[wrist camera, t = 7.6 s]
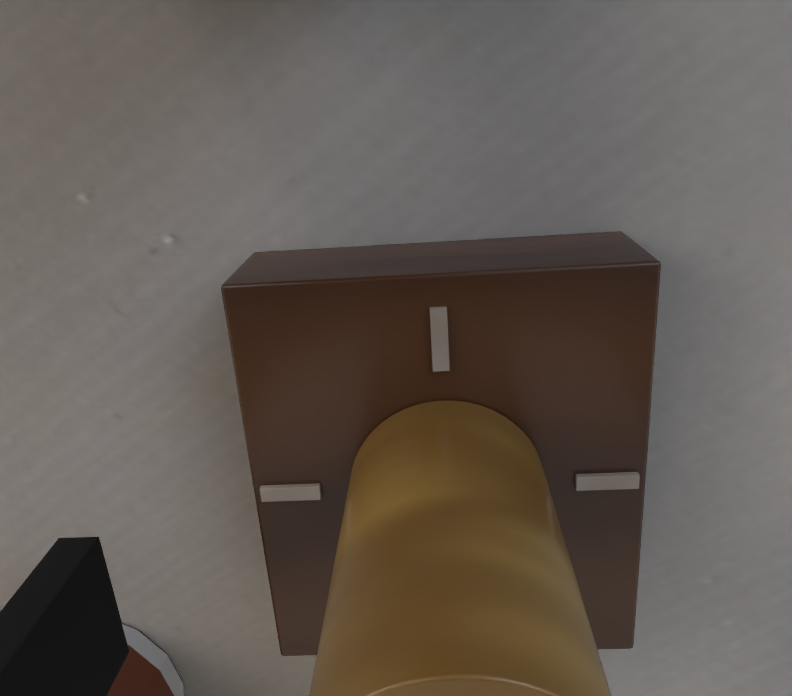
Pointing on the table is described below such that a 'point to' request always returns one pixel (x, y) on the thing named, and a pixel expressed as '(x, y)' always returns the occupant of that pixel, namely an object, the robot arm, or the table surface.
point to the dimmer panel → (448, 390)
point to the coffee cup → (145, 670)
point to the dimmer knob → (453, 568)
